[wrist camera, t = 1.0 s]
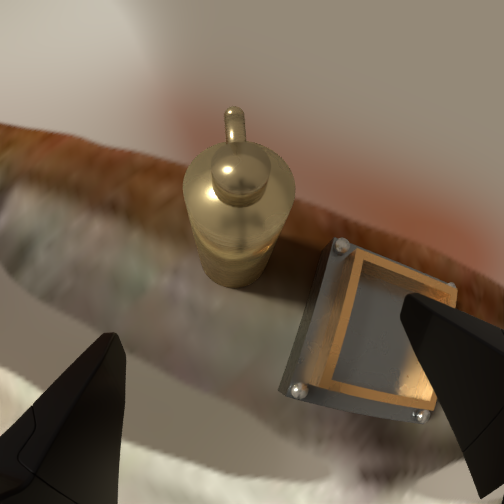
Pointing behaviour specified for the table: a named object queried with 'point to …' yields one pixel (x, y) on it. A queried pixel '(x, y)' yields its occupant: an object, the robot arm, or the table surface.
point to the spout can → (237, 204)
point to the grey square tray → (362, 337)
